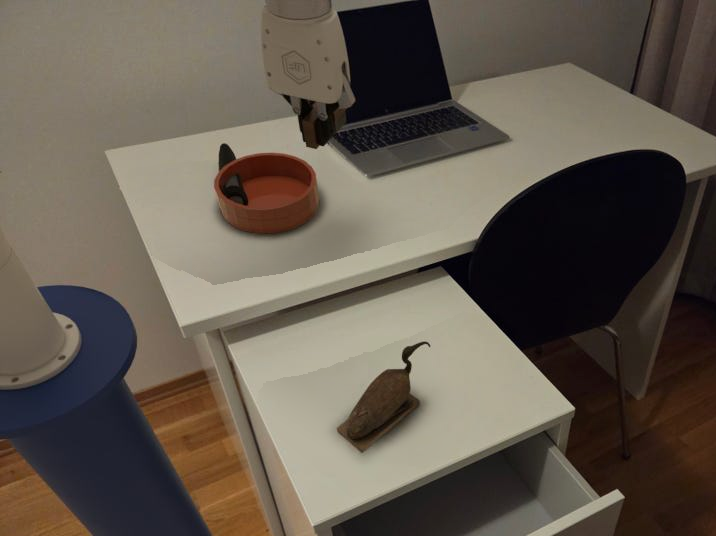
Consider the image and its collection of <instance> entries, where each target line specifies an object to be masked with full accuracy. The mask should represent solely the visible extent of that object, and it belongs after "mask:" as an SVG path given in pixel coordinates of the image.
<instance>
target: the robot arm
mask: <svg viewBox="0 0 716 536" xmlns="http://www.w3.org/2000/svg"><path fill="white" fill-rule="evenodd" d="M265 4H266V5H263V6H262V7H261V12H260V13H261V14H260V39H261V40H260V41H261V52H262V61H263V70H264V74H265V80H266V83H267V86H268V88H269V90H270V91H272V92H274V93H276V94H277V95H279V96H282V98H283V99H284V100H285V101H286V102H287V103H288V104H289V105H290V106H291V111H292V112H293V113H294V114H295V115H296V116H297V120H298V121H297V122H298V127H299V132H300V133H301V138H302V142H303V143H306V142H305V136H304V129H303V123H302V120H303V119H304V118H305V117H306V116H307V115H308V114H309V113H310V112H311V111H312V110H313V105H311V104H310V103H311V101H313V102H316V101H317V110H318V117H317V118H316V120H315V123H316V130H317V138H318V144H319V147H325V146H326V145H327V143H328V142H329V141H330V140H331V139H332V138H333V137H334V134H335V133H334V129H333V120H332V113H333V112H335V111H336V110H337V109H342V108H347V109H348V108H352V106H353V105H354V104H355V103H356V97H355V95H354V93H353V91H352V90H353V89H352V88H351V72H350V71H351V70H350V63H349V57H348V51H347V50H348V49H347V45H346V40H345V35H344V31H343V28H342V24H341V21H340V17H339V15H338V12H337V10H335V9H333V3H332V0H265ZM37 287H38V286H37V285H36V283H35V281H34V280H33V279H32V277H31V275H30V273H29V272H28V271H27V269H26V267H25V266H24V264H23V262H22V261H21V259H20V257H19V256H18V255H17V253H16V251H15V249H14V248H13V247H12V245H11V243H10V242H9V241H8V239H7V237H6V236H5V234H4V233H3V231H2V229H1V228H0V389H1V390H14V389H21V388H26V387H30V386H33V385H37V384H39V383H42V382H44V381H47V380H48V379H50V378H52V377H54V376H56V375H57V374H59V373H60V372H61V371H63V370H64V369H65V368H66V367H67V366H68V365H70V364H71V363H72V361H73V360H74V359H75V357H76V356H77V354H78V352H79V350H80V348H81V343H82V337H81V333H80V331H79V329H78V327H77V326H76V324H75V323H74V322H73V321H72V320H71V319H70V318H68V317H66V316H64V315H61V314H57V313H53V312H52V311H51V309H50V308H49V306H48V304H47V303H46V301H45V299H44V298H43V296H42V295H41V293H40V291H39V290H38V288H37Z"/></svg>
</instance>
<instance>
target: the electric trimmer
mask: <svg viewBox="0 0 716 536" xmlns="http://www.w3.org/2000/svg"><path fill="white" fill-rule="evenodd" d="M236 159H237V157H236V155H235V153H234V151H233V150H232V148H231V147H230V145H229V144H227V143H225V142H224V143H222V144H220V146H219V149H218V172H219V171H220V170H221V169H222V168H223V167H224V166H226V165H227V164H229V163H231V162H232V161H234V160H236ZM223 195H224V196H225V197H226V198H227V199H229V200H231V201H233V202H235V203H237V204H241V205H245V206H247V204H248V198H247V195H246V193H245V191H244V188H243V185H242V181H241V177H240V175H239V174H238V173H237V174H235V175H234V176H231V177H230V178H229V179H228V181H227V182H226V183H225V185H224V187H223Z"/></svg>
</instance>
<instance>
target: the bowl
mask: <svg viewBox="0 0 716 536" xmlns="http://www.w3.org/2000/svg"><path fill="white" fill-rule="evenodd" d="M237 173H238V174H239V175H240V177H241V181H242V185H243V188H244V191H245V193H246V195H247V198H248V204H247V206H245V205H241V204H237V203H235V202H233V201H231V200H229V199H227V198H226V197H225V196H224V195H223V187H224V185H225V183H226V182H227V181H228V179H229V178H230V177H231V176H234V175H235V174H237ZM213 189H214V192H215V195H216V199H217V202H218V206H219V209H220V211H221V215H222V216H223V219H225V221H226V222H227V223H229V224H230V225H231V226H233V227H234V228H236V229H239V230H241V231H245V232H249V233H253V234H254V233H255V234H277V233H282V232H287V231H290V230H293V229H296V228H299V227H300V226H302V225H304V224H306V223H307V222H308V221H310V220H311V219H312V218H313V217H314V216H315V214H316V213H317V211H318V210H319V206H320V195H319V188H318V181H317V174H316V171H315V170H314V168H313V166H312V165H311V164H309V163H308V162H307V161H306V160H304V159H302V158H300V157H298V156H295V155H291V154H288V153H283V152H282V153H281V152H259V153H253V154H248V155H244V156H241V157H239V158H236V160H234V161H232V162H231V163H229V164H227V165H226V166H224V167H223V168H222V169H221V170H220V171H219V170H218V172H217V173H216V176H215V177H214V180H213Z"/></svg>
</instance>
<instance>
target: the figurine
mask: <svg viewBox="0 0 716 536" xmlns="http://www.w3.org/2000/svg"><path fill="white" fill-rule="evenodd" d="M425 345H427V346H428V347H429V348H431V347H432V346H431V344H430V343H429V342H428V341H420V342H417V343H414V344H413V345H407V346H405V347H404V348H403V350H402V351H401V360H402V362H403V363H404V364H405V367H404V368H387V369H385V370H383V371H382V372H381V373H379V375H377V376H376V378H374V379H373V380H372V382H370V384H369V385H368V387H367V388H366V389H365V391H364V392H363V393H362V395H361V397H360V398H359V400H358V401H357V402H356V404H355V406H354V407H353V409H352V411H351V412H350V414H349V416H348V418H347V419H346V420H345V421H343V422H342V423H341V424H339V426H338V427H336V431H337V433H338V434H339V435H340V436H341V437H343V438H344V439H345V440H346V441H347V442H349V444H351V445H352V446H353V447H354V448H355V449H356V450H357V451H359V452H360V453H361V454H363V453H365V452H366V451H367V450H368V449H369V448H370V447H372V446H373V445H374V444H375V443H376V442H377V441H378V440H379V439H381V438H382V437H383V436H384V435H386V433H388V432H389V431H390V430H391V429H393V427H395V426H396V425H397V424H398V423H399V422H401V421H402V420H403V419H404V418H405V417H406V416H407V415H408V414H410V413H411V412H412V411H413V410H415V409H416V408H417V407H418V406H419V405H420V403H421V402H420V401H421V400H420V399H419V398H417V397H416V396H415V395H413V394H411V380H410V374H411V372H412V368H413V367H412V366H413V365H412V362H411V360H409V358H410V357H411V356H412V355H413V354H414V353H415V351H417V350H418V349H419V348H420V347H421V346H425Z"/></svg>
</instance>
